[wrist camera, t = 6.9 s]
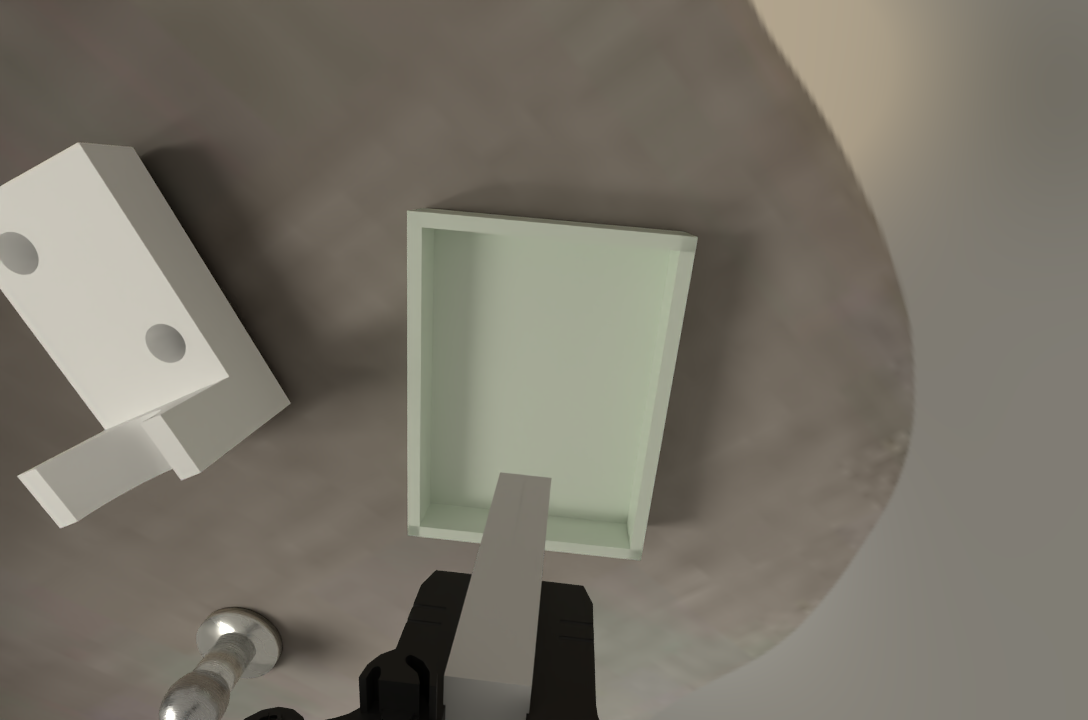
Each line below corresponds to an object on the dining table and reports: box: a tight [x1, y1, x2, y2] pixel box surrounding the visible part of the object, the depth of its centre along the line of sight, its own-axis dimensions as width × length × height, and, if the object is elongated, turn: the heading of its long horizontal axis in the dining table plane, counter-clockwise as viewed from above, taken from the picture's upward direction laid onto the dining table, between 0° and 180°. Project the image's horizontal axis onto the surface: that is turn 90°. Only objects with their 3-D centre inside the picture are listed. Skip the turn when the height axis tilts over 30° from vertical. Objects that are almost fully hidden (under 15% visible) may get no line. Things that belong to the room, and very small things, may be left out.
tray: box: [407, 208, 698, 561], centre depth 24 cm, size 12×16×3 cm
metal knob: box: [159, 607, 282, 720], centre depth 29 cm, size 5×5×6 cm
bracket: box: [0, 142, 291, 528], centre depth 22 cm, size 13×7×8 cm, turn 23°
